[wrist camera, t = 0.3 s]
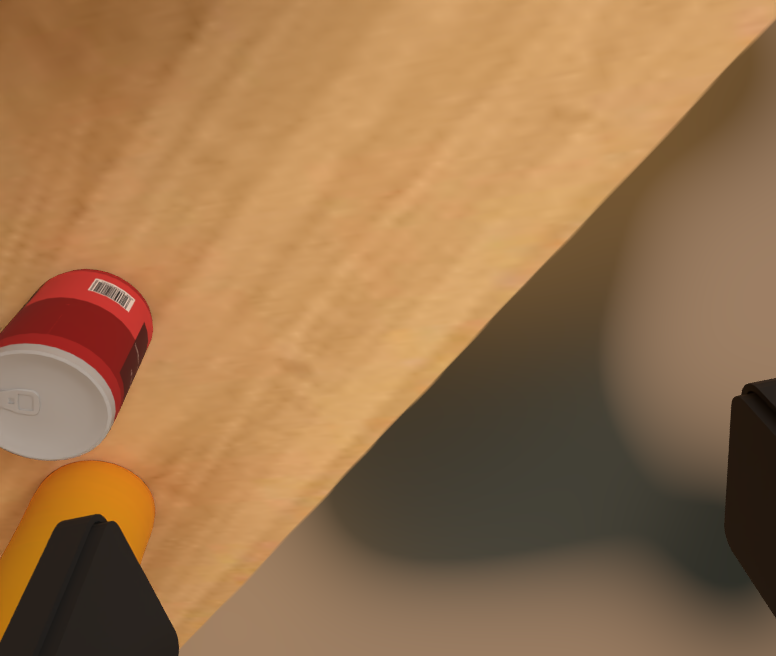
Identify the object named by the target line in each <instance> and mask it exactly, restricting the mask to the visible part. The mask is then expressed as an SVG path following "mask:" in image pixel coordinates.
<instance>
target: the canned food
mask: <svg viewBox="0 0 776 656" xmlns="http://www.w3.org/2000/svg"><path fill="white" fill-rule="evenodd" d="M152 333H153V325H152V317H151V313H150V310H149V307H148V305H147V303H146V301H145V299H144V298H143V297H142V295H141V294H140V293H139V292H138V290H136V289H135V288H134V287H133V286H132V285H131V284H129V283H128V282H126V281H125V280H123V279H121V278H120V277H118V276H115V275H113V274H110V273H107V272H103V271H99V270H91V269H81V270H73V271H70V272H66V273H63V274H60V275H57V276H55V277H53V278H52V279H50V280H48V281H47V282H46V283H44V284H43V285H42V286H41V287H40V288H39V289H38V290H37V292H36V293H35V294H34V295H33V296H32V297H31V298H30V300H29V301H28V302H27V303H26V304H25V305H24V307H23V308H22V309H21V310H20V311H19V312H18V313H17V315H16V316H15V317H14V318H13V319H12V320H11V322H10V323H9V324H8V325H7V326H6V327H5V329H4V330H3V331H2V332H1V333H0V448H2V449H4V450H6V451H9V452H11V453H13V454H16V455H19V456H22V457H25V458H31V459H36V460H47V461H56V460H67V459H71V458H74V457H78V456H81V455H83V454H85V453H87V452H89V451H91V450H92V449H94V448H95V447H96V446H98V445H99V444H100V443H101V442H102V440H103V439H104V438H105V437H106V435H107V433H108V432H109V431H110V429H111V427H112V425H113V423H114V421H115V419H116V417H117V415H118V413H119V410H120V408H121V406H122V404H123V402H124V399H125V397H126V395H127V393H128V390H129V388H130V386H131V384H132V381H133V379H134V377H135V375H136V373H137V370H138V368H139V366H140V364H141V361H142V359H143V357H144V355H145V352H146V350H147V348H148V346H149V344H150V341H151V338H152Z"/></svg>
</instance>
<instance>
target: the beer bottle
mask: <svg viewBox="0 0 776 656" xmlns="http://www.w3.org/2000/svg"><path fill="white" fill-rule="evenodd" d="M94 514H101V515H102V516H104V517H105V519H106V520H107V521H115V522H116V523H117V524H118V525H119V527H120V529H121V530H122V532H123V534H124V536H125V538H126V540H127V542H128V544H129V545H130V547H131V549H132V551H133V553H134V555H135V557H136V558H137V560H138V562H139V564H141V561H142V557H143V554H144V551H145V548H146V546H147V543H148V540H149V538H150V535H151V532H152V528H153V523H154V517H155V505H154V500H153V497H152V495H151V492H150V490H149V489H148V487H147V486H146V484H145V483H144V482H143V481H142V480H141V479H140V478H139V477H137V476H136V475H135V474H134V473H132V472H130V471H129V470H127V469H125V468H123V467H121V466H118V465H115V464H112V463H108V462H103V461H79V462H74V463H70V464H68V465H65V466H62V467H61V468H59V469H57V470H56V471H54V472H52V473H51V474H50V475H49V476H48V477H47V478H46V479H45V480H44V481H43V482H42V483H41V485H40V486H39V488H38V489H37V491H36V492H35V494H34V496H33V497H32V499H31V501H30V503H29V505H28V507H27V510H26V512H25V514H24V516H23V518H22V520H21V522H20V524H19V526H18V527H17V529H16V531H15V533H14V535H13V537H12V538H11V540H10V542H9V544H8V546H7V548H6V550H5V551H4V553H3V555H2V557H1V559H0V641H1V639H2V637H3V635H4V633H5V631H6V628H7V626H8V624H9V622H10V620H11V618H12V616H13V614H14V612H15V610H16V607H17V605H18V603H19V601H20V599H21V597H22V595H23V593H24V591H25V589H26V586H27V584H28V582H29V580H30V578H31V576H32V574H33V572H34V570H35V568H36V566H37V563H38V561H39V559H40V557H41V555H42V553H43V551H44V549H45V547H46V545H47V542H48V540H49V538H50V536H51V534H52V532H53V530H54V528H55V527H56V525H57V524H58V523H59V522H61V521H64V520H69V519H74V518H79V517H84V516H89V515H94Z"/></svg>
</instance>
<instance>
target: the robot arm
mask: <svg viewBox="0 0 776 656" xmlns="http://www.w3.org/2000/svg"><path fill="white" fill-rule="evenodd" d="M727 472H728V473H727V489H726V506H725V523H724V527H725V534H726V538H727V541H728V544H729V546H730V547H731V550H732V552H733V553H734V555H735V556H736V558H737V559H738V561H739V562H740V564H741V565H742V567H743V568H744V570H745V572H746V573H747V575H748V576H749V578H750V579H751V581H752V582H753V584H754V585H755V587H756V588H757V590H758V591H759V593H760V594H761V596H762V598H763V599H764V601H765V602H766V604H767V605H768V607H769V608H770V610H771V611H772V613H773V614H774V616H775V617H776V378H774V379H769V380H764V381H759V382H754V383H749V384H746V385H745V386H744V388H743V389H742V394H741V395H740V396H736V397H734V398H733V400H732V405H731V420H730V438H729V455H728V471H727ZM178 654H179V644H178V637H177V634H176V631H175V629H174V627H173V626H172V624H171V622H170V620H169V618H168V616H167V614H166V613H165V611H164V609H163V607H162V605H161V603H160V601H159V599H158V598H157V596H156V594H155V592H154V590H153V588H152V586H151V585H150V583H149V581H148V579H147V577H146V575H145V573H144V572H143V570H142V568H141V566H140V564H139V562H138V560H137V558H136V557H135V555H134V553H133V551H132V549H131V547H130V545H129V544H128V542H127V540H126V538H125V536H124V534H123V532H122V530H121V529H120V527H119V525H118V524H117V523H116V522H115V521H107V520H106V519H105V517H104V516H102V515H101V514H94V515H89V516H84V517H79V518H74V519H69V520H64V521H61V522H59V523H58V524H57V525H56V527H55V528H54V530H53V532H52V534H51V536H50V538H49V540H48V542H47V545H46V547H45V549H44V551H43V553H42V555H41V557H40V559H39V561H38V563H37V566H36V568H35V570H34V572H33V574H32V576H31V578H30V580H29V582H28V584H27V586H26V589H25V591H24V593H23V595H22V597H21V599H20V601H19V603H18V605H17V607H16V610H15V612H14V614H13V616H12V618H11V620H10V622H9V624H8V626H7V628H6V631H5V633H4V635H3V637H2V639H1V641H0V656H178Z"/></svg>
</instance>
